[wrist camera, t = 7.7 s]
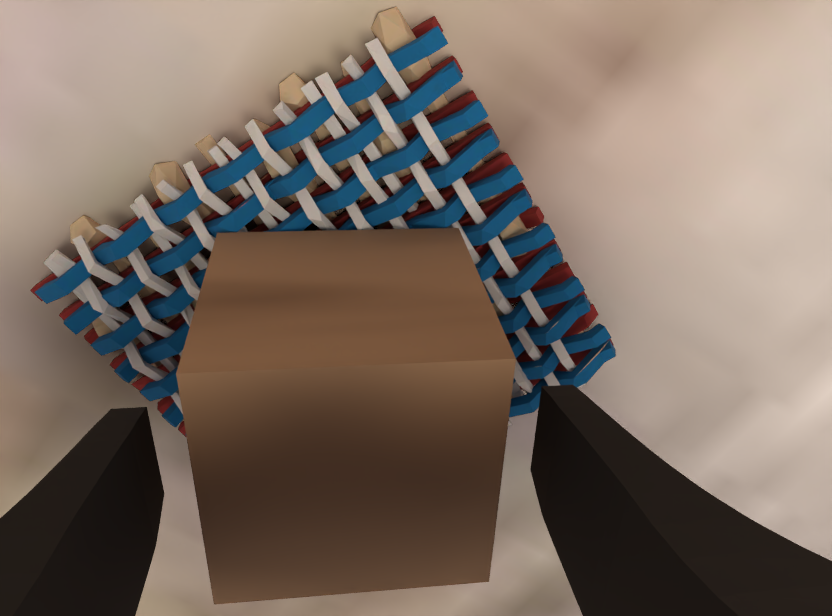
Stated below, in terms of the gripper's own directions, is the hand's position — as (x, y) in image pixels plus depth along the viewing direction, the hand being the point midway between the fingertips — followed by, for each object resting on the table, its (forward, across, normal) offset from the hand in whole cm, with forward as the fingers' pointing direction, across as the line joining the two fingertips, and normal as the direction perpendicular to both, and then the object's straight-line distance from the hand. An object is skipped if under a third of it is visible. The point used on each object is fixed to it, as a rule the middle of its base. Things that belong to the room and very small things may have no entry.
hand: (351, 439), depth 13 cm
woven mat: (+6, 0, 0) cm, 6 cm away
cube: (+3, 0, 0) cm, 4 cm away
